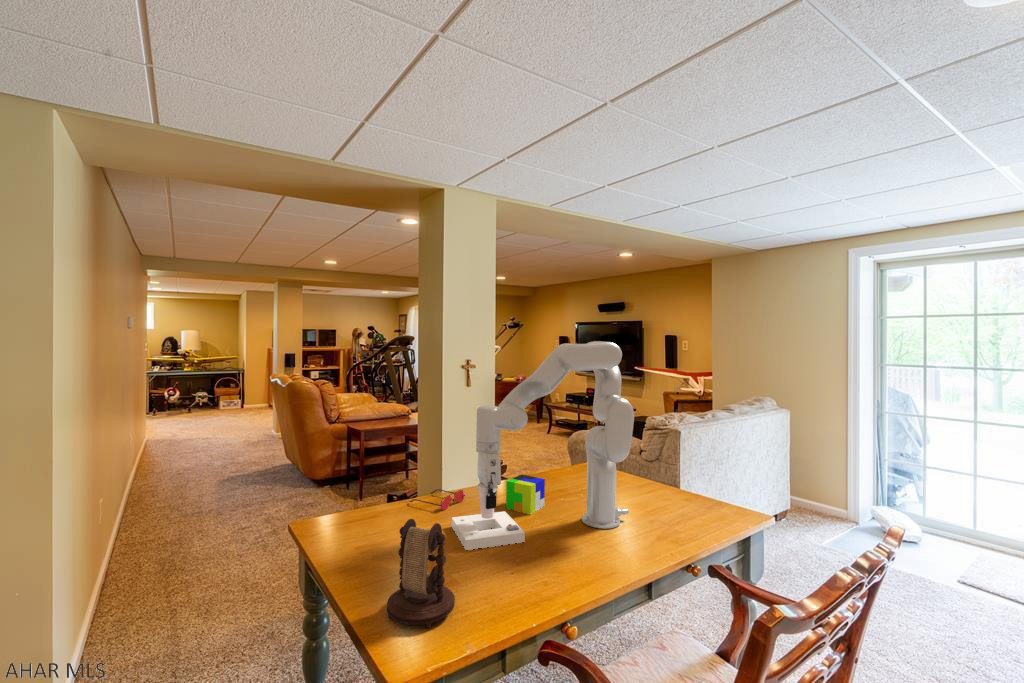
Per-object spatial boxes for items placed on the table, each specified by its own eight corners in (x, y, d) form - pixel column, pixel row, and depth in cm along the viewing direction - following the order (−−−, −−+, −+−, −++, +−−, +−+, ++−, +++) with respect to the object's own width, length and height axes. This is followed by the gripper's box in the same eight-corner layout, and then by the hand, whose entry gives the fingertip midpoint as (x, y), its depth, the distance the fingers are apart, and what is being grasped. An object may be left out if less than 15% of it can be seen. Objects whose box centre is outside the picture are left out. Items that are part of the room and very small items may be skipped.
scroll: (372, 622, 102) (373, 528, 102) (410, 588, 116) (412, 506, 116) (433, 638, 97) (434, 540, 97) (465, 601, 111) (467, 515, 110)
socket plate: (504, 520, 160) (504, 509, 160) (524, 542, 143) (524, 530, 143) (451, 526, 154) (451, 515, 154) (465, 550, 137) (466, 538, 137)
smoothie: (500, 514, 150) (501, 469, 150) (493, 521, 144) (493, 474, 144) (481, 511, 152) (482, 467, 152) (473, 518, 146) (473, 472, 146)
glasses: (442, 514, 166) (442, 499, 166) (406, 505, 174) (406, 491, 174) (466, 502, 178) (466, 488, 178) (431, 494, 186) (431, 481, 186)
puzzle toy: (544, 506, 174) (544, 478, 173) (530, 515, 165) (530, 486, 165) (520, 501, 179) (521, 474, 179) (506, 509, 170) (506, 480, 170)
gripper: (509, 452, 141) (508, 513, 141) (491, 439, 157) (490, 494, 158) (484, 453, 139) (484, 516, 139) (469, 441, 155) (468, 496, 155)
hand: (487, 504), depth 148 cm, fingers closed on smoothie, 6 cm apart
